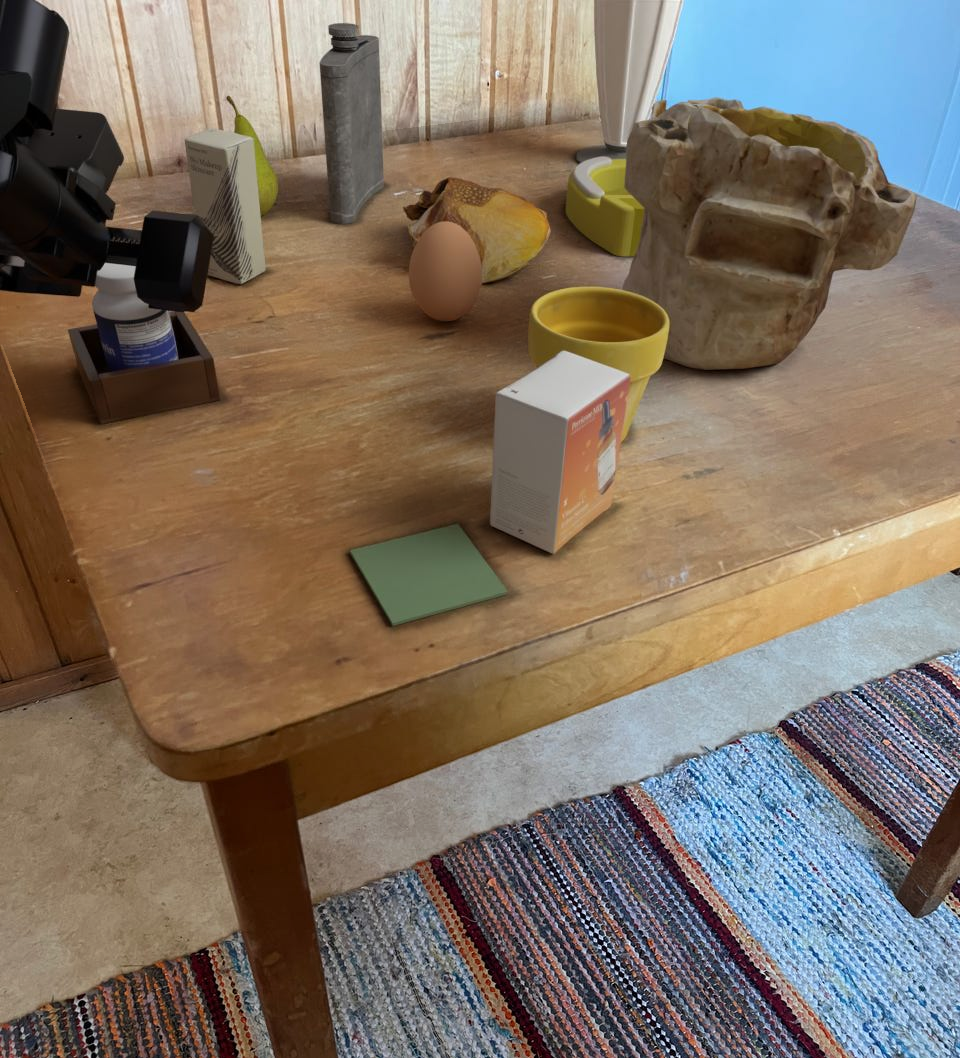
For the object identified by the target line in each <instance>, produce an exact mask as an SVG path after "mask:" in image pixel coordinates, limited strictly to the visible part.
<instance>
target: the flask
mask: <svg viewBox="0 0 960 1058" xmlns="http://www.w3.org/2000/svg"><path fill="white" fill-rule="evenodd" d="M327 27H328V28H327V29H328V35H330V36H331V37H330V45H331V46H332V47H331V49H329V50H328V51H327V52H325V54H324V55H323V56H322V57H321V59H320V60H319V75H320V91H321V106H322V118H323V120H322V121H323V134H324V148H325V161H326V174H327V190H328V204H329V217H330V221H331V222H332V223H333V224H338V225H347V224H352V223H354V222H355V221H356V220H357V217H358V214H359V212H360V210H361V209H362V208H363V206H364V205H365V204H366V202H368V200H369V199H370V198H372V197H373V196H374V195H375V194H376V193H378V192H379V191H380V190H382V189H384V187H385V177H384V149H383V148H384V147H383V145H384V144H383V119H382V116H383V115H382V91H381V90H382V89H381V87H382V86H381V62H380V38H379V36H376V35H371V34H361V35H360V26H359V25H358V24H355V23H350V22H337V23H331V24H329V25H328V26H327Z"/></svg>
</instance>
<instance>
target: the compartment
mask: <svg viewBox="0 0 960 1058" xmlns="http://www.w3.org/2000/svg"><path fill="white" fill-rule="evenodd" d="M169 313H170V319H171V324H172V329H173V333H174V338H175V343H176V348H177V353H178V358H179V360H173V361H168V362H162V363H157V364H152V365H146V366H141V367H136V368H130V369H125V370H119V371H114V372H109V370H108V366H107V362H106V358H105V354H104V350H103V346H102V343H101V339H100V334H99V330H98V327H97V324H91V325H86V326H79V327H74V328H73V327H72V328H68V329H67V333H68V336H69V340H70V343H71V347H72V352H73V355H74V359H75V363H76V365H77V370H78V373H79V375H80V378H81V380H82V383H83V385H84V388H85V389H86V392H87V395H88V397H89V399H90V401H91V404H92V406H93V409H94V411H95V413H96V416H97V418H98V420H99V423H100V425H105V424H109V423H114V422H120V421H125V420H130V419H134V418H140V417H145V416H149V415H154V414H159V413H163V412H169V411H173V410H178V409H183V408H188V407H189V408H190V407H195V406H199V405H203V404H207V403H213V402H219V401H221V396H220V395H221V394H220V391H219V390H220V389H219V383H218V378H217V371H216V365H215V359H214V356H213V355H212V354H211V352H210V350H209V348H208V347H207V345H206V344H205V342H204V340H203V339H202V338H201V336H200V334H199V333H198V331H197V330H196V328H195V327H194V325H193V324H192V321H191V320H190V319H189V317H188V315H187V314H186V311H185V312H175V311H169Z"/></svg>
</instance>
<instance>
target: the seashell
mask: <svg viewBox="0 0 960 1058" xmlns="http://www.w3.org/2000/svg"><path fill="white" fill-rule="evenodd" d="M402 209H403V211H404V213H405V215H406V218H407V219H408V220H410V221H411V222H414V221H415V222H414V223H411V224H409V225H408V226H407V232H408V235H409V237H410V239H411V244H412V246H413V249H414V248H415V246H416V244H417V242H418V240H419V239H420V237H421V236H422V234H423V233H424V232H425V231H426V230H427V229H428V228H429V227H430V226H432V225H434V224H436V223H439V222H444V221H448V222H452V223H455V224H457V225H459V226H460V227H462V228H463V229H464V230H465V231H466V232H467V233H468V234H469V236H470V237H471V239H472V240H473V242H474V244H475V246H476V249H477V251H478V254H479V256H480V261H481V266H482V285H483V284H487V283H493V282H496V281H499V280H501V279H504V278H508V277H509V276H511V275H513V274H515V273H516V272H518V271H519V270H521V269H522V268H525V266H527V265H529V264H530V263H532V262H533V261H534V260H535V259H536V257H537V255H538V254H539V252H541V251H542V250H543V249H544V247H545V246H546V244H547V242H548V240H549V238H550V235H551V227H550V222H549V221H548V213H547V212H546V211H545V210H543V209H541V208H538V207H537V206H536V205H534V204H533V203H532V202H530V201H528V200H527V199H526V198H524V197H522V196H520V195H517V194H516V193H513V192H510V191H508V190H505V189H503V188H499V187H488V186H483V185H480V184H478V183H476V182H474V181H471V180H466V179H462V178H457V177H453V176H450V177H449V176H448V177H447V178H445V179H442V180H440V181H439V182H438V183H437V184H436V186H434V189H433V190H432V191H429V190H423V191H422V192H421V193H420V194H419V198H418V201H417V202H416V203H415V204H409V205H407V206H404V205H403V206H402Z"/></svg>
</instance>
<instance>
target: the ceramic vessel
mask: <svg viewBox="0 0 960 1058" xmlns="http://www.w3.org/2000/svg"><path fill="white" fill-rule="evenodd" d="M667 101H668V100H666V99H660V100H658V101H655V103H654V104H653V107H652V112H651V115H650V118H649V120H644V121H639V122H636V123H634V125H633V128H632V131H631V133H630V135H629V138H628V140H627V146H626V172H625V183H624V188H625V189H626V190H627V191H628V192H629V193H630V194H631V195H632V196H633V197H634V198H635V199H636V200H637V201H638V202H639V203H640V204H641V205H642V206H643V207H644V215H643V221H642V225H641V237H640V241H639V244H638V247H637V250H636V253H635V255H634V256H633V258H632V260H631V262H630V266H629V267H630V268H629V272H628V274H627V276H626V277H625V279H624V281H623V284H622V288H621V290H624V291H628V292H632V293H635V294H638V295H641V296H643V297H646V298H648V299H650V300H652V301H653V302H655V303H656V304H658V305H659V306H660V307H662V308H663V309H664V311H665V312H666V313H667V315H668V318H669V323H670V325H669V333H668V339H667V344H666V349H665V353H664V357H663V360H667V361H670V362H672V363H676V364H679V365H681V366H683V367H687V368H689V369H690V368H691V369H698V370H705V371H708V370H709V371H710V370H712V371H713V370H742V369H751V368H756V367H757V368H758V367H764V366H771V365H778V364H780V363H782V362H783V361H784V360H785V359H787V357H789V356H790V355H791V354H792V353H793V352H794V351H795V350H796V349H797V348H798V346H799V345H800V343H801V342H802V341H803V340H804V339H805V337H806V336H807V335H808V334H809V332H810V331H811V330H812V329H813V327H814V325H816V322H817V320H818V319H819V317H820V316H821V314H822V313H823V312H824V310H825V309H826V307H827V302H828V300H829V299H828V298H829V294H830V293H829V292H830V288H831V285H832V279H833V275H834V273H835V272H838V271H843V270H855V271H856V270H857V271H874V270H877V269H882V268H883V267H884V266H885V265H887V264H889V263H890V262H891V261H892V260H893V259H894V258H895V257H896V256H897V255H898V253H899V250H900V248H901V246H902V244H903V241H904V237H905V235H906V233H907V231H908V227H909V225H910V223H911V221H912V218H913V215H914V214H915V210H916V202H917V194H916V193H915V192H913V191H911V190H909V189H906V188H904V187H901V186H899V185H896V184H893V183H890V182H889V180H888V177H887V175H886V172H885V170H884V167H883V166H882V164H881V161H880V159H879V151H878V149H877V146H876V145H875V144H874V143H873V141H871V140H870V139H869V138H868V137H867V136H864V135H861V134H860V133H859V132H857V131H856V130H853V129H849V128H848V127H845V126H843V124H840V123H838V122H836V121H827V120H819V119H815V118H813V117H812V116H810V115H806V114H799V113H788V112H785V111H782V110H779V109H776V108H771V107H767V106H760V107H754V108H751V109H746V108H745V107H744V105H743V103H742V101H741V100H739V99H730V100H729V99H726V98H722V97H717V96H715V97H712V98H709V99H708V98H707V99H688V100H687V101H679V102H677V103H675V104H673V105H672V106H670V107H668V109H667V104H668V103H667Z"/></svg>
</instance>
